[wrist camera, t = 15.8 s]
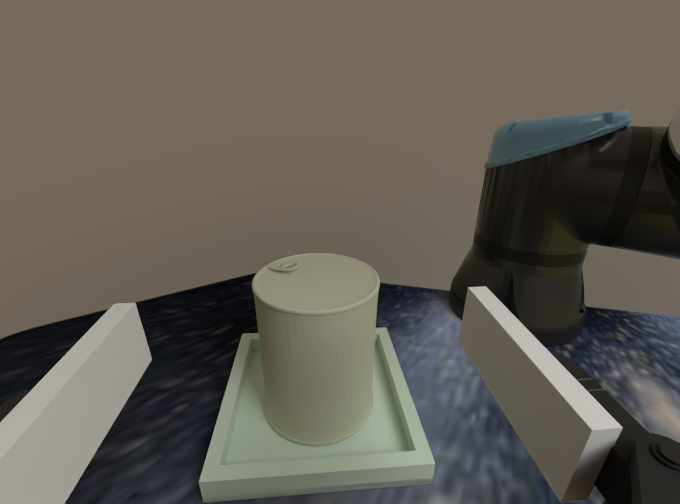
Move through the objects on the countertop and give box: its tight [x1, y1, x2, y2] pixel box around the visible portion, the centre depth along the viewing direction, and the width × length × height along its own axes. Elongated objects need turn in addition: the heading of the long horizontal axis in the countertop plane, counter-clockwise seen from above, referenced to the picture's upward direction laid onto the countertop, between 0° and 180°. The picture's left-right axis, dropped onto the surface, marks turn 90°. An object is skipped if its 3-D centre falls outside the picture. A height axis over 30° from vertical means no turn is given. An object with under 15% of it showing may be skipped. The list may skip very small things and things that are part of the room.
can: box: [252, 253, 380, 446], centre depth 26 cm, size 9×9×12 cm
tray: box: [199, 328, 435, 503], centre depth 29 cm, size 15×15×2 cm
